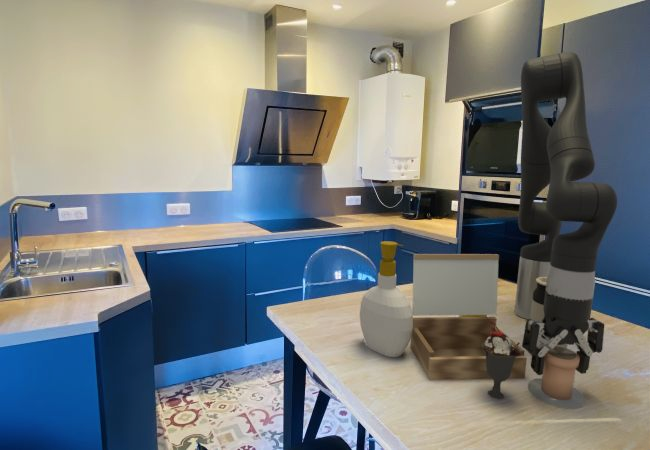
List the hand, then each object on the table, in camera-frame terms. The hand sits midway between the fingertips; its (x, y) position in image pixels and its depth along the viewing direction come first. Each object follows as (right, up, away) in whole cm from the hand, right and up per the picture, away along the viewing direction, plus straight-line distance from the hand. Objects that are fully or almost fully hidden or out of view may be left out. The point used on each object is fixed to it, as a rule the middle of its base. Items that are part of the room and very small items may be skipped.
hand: (558, 372), depth 76 cm
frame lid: (-14, +14, +16) cm, 26 cm away
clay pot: (0, -4, +1) cm, 4 cm away
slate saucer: (0, -5, +1) cm, 5 cm away
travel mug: (+7, -3, +17) cm, 18 cm away
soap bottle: (-30, -2, +18) cm, 35 cm away
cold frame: (-14, -3, +12) cm, 19 cm away
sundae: (-12, -5, 0) cm, 13 cm away
